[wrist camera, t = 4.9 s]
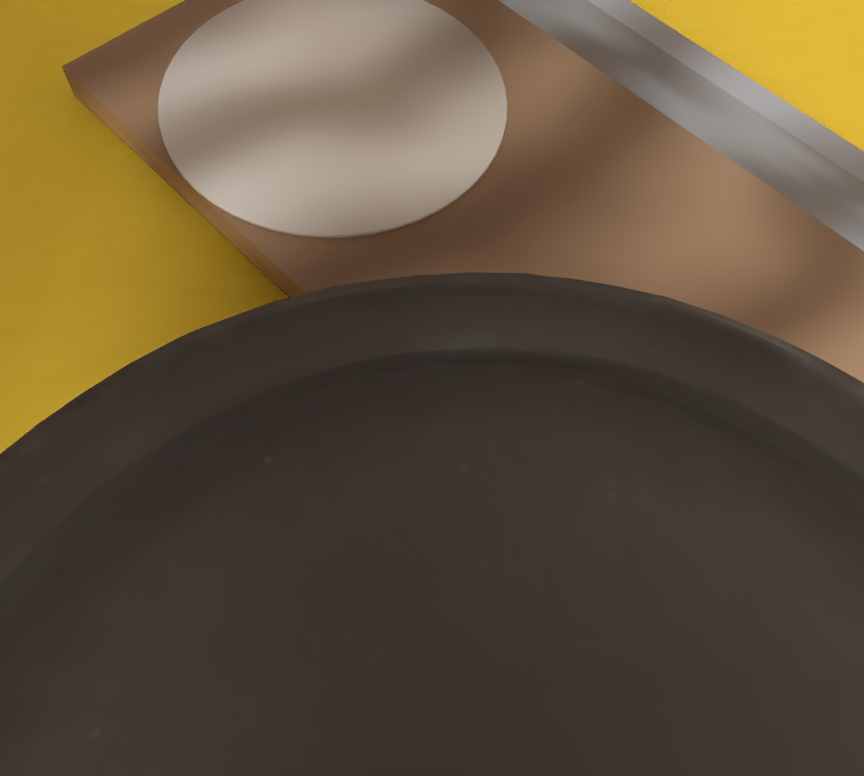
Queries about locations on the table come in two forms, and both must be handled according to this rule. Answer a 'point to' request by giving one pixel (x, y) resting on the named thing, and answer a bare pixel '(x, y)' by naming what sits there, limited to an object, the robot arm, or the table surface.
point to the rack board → (494, 153)
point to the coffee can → (442, 545)
